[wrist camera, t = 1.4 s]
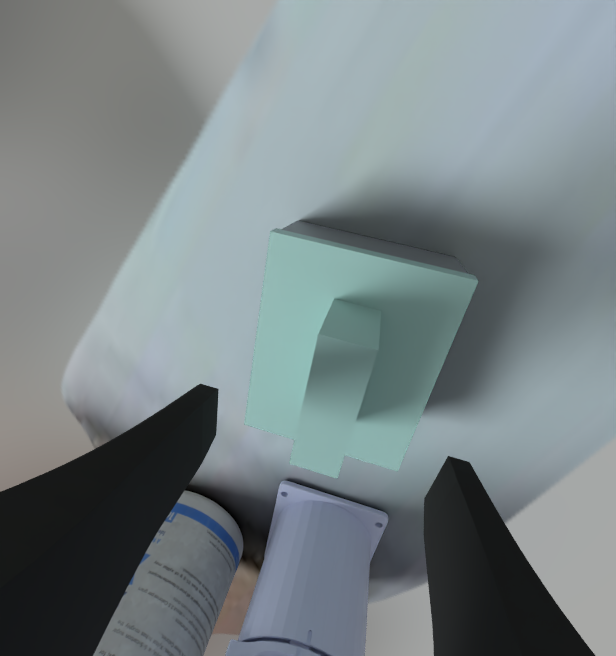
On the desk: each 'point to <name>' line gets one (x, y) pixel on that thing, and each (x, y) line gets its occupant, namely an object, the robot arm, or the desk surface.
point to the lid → (349, 349)
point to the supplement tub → (177, 584)
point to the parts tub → (376, 245)
